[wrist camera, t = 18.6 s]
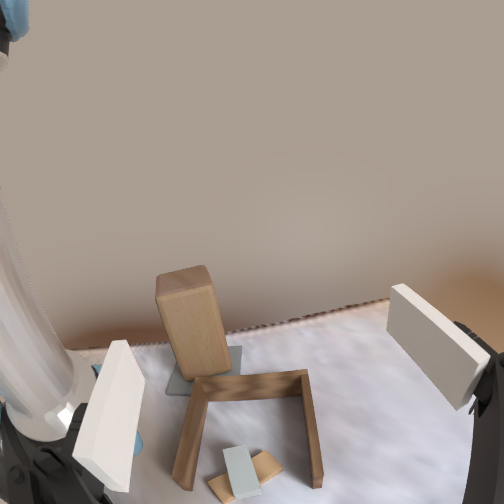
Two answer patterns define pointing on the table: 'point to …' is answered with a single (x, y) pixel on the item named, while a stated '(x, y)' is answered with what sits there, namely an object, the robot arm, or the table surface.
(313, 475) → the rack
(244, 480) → the offcut slab upper
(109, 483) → the robot arm
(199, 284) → the wooden block
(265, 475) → the offcut slab lower
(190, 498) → the table surface
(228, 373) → the mat
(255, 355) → the table surface
